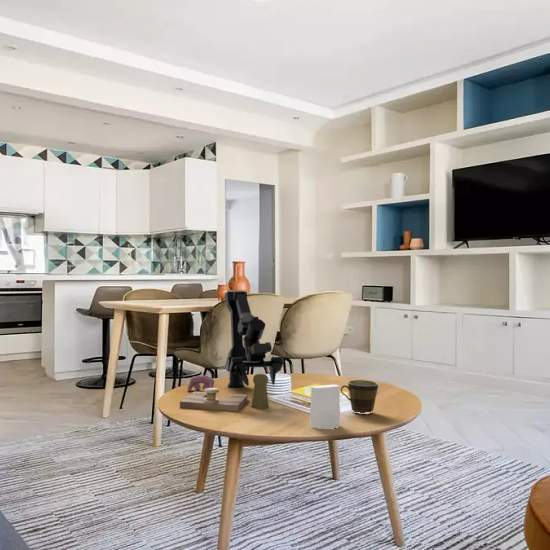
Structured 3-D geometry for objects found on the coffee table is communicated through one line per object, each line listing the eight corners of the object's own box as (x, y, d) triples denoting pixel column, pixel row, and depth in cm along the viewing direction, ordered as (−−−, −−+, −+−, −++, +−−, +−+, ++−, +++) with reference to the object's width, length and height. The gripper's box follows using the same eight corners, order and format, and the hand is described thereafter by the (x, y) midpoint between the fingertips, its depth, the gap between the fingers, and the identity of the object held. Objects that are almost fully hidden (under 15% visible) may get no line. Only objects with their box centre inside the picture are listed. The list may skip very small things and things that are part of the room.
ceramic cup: (369, 408, 187) (370, 379, 187) (382, 415, 177) (383, 385, 177) (334, 410, 184) (335, 380, 183) (346, 417, 174) (347, 386, 174)
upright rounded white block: (328, 420, 170) (329, 382, 170) (345, 427, 162) (346, 388, 162) (304, 423, 166) (305, 384, 166) (320, 431, 158) (321, 390, 158)
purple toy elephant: (213, 395, 208) (215, 377, 211) (211, 392, 204) (213, 374, 207) (188, 393, 209) (191, 376, 212) (186, 390, 205) (188, 372, 208)
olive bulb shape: (260, 403, 190) (261, 372, 190) (272, 406, 186) (273, 374, 186) (247, 406, 186) (248, 374, 186) (259, 409, 182) (260, 376, 182)
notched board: (194, 396, 197) (194, 380, 197) (247, 400, 194) (248, 383, 194) (179, 407, 181) (180, 389, 181) (237, 411, 178) (238, 393, 178)
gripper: (232, 334, 188) (239, 371, 177) (282, 334, 193) (292, 370, 183) (226, 354, 195) (232, 390, 185) (275, 353, 201) (284, 388, 190)
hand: (261, 384), depth 185 cm, fingers open, 9 cm apart
